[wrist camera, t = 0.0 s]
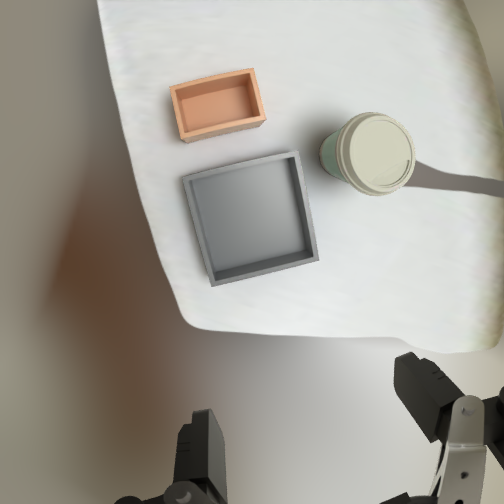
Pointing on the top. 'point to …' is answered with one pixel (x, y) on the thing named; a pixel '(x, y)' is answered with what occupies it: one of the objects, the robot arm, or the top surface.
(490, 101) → the top surface
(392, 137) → the coffee cup
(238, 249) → the big crate
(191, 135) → the small crate
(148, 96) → the top surface
